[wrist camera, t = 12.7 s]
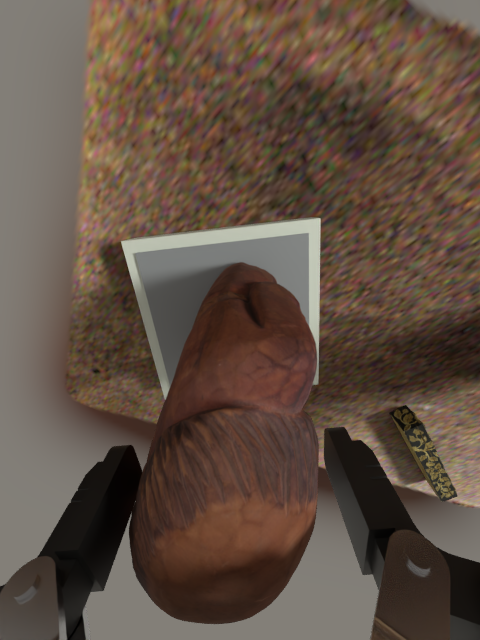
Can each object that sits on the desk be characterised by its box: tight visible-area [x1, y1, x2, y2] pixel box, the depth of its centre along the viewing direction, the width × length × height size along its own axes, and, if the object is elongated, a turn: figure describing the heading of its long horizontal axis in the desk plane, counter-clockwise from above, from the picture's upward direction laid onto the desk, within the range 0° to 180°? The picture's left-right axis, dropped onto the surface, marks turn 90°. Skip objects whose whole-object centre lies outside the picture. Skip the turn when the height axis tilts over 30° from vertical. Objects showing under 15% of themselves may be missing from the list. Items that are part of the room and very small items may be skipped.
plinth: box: [121, 218, 320, 400], centre depth 25 cm, size 16×16×4 cm
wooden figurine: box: [129, 262, 319, 624], centre depth 15 cm, size 12×6×18 cm, turn 161°
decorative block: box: [390, 405, 457, 502], centre depth 33 cm, size 15×2×4 cm, turn 33°
